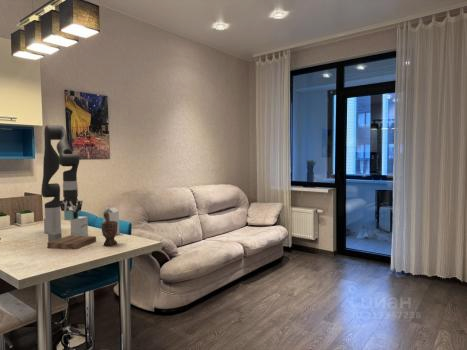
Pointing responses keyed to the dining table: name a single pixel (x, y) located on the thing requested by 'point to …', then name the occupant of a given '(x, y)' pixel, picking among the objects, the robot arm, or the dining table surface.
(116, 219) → the milk carton
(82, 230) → the supplement box
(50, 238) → the charcoal block
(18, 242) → the dining table surface
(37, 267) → the dining table surface
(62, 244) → the walnut base
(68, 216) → the teal block
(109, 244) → the mortar and pestle
